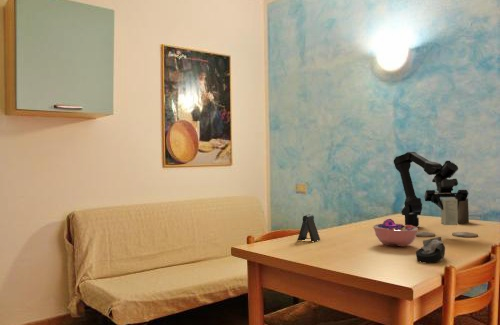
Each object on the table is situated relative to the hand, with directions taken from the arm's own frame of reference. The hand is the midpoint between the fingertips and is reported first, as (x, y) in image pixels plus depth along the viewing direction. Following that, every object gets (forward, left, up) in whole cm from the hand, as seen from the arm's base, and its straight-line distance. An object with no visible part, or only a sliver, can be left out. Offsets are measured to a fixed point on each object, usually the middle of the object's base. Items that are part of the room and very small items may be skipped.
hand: (450, 209), depth 200 cm
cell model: (-20, -27, -13) cm, 36 cm away
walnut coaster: (+5, +9, -13) cm, 17 cm away
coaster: (-13, +3, -13) cm, 18 cm away
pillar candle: (0, +50, -13) cm, 52 cm away
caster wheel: (-3, -48, -14) cm, 50 cm away
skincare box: (-1, +1, -7) cm, 8 cm away
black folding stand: (-59, -30, -13) cm, 67 cm away
